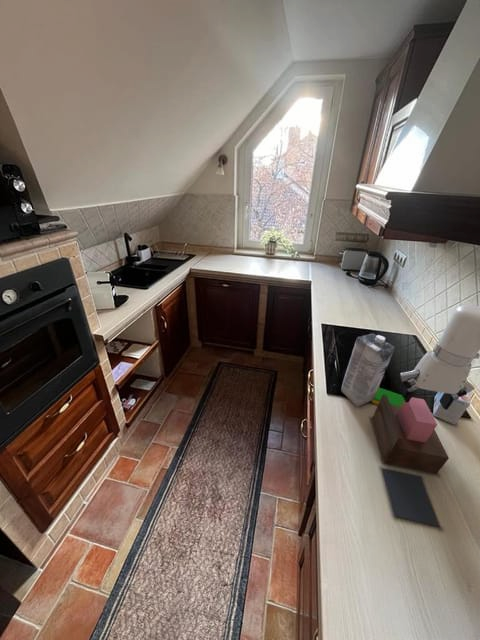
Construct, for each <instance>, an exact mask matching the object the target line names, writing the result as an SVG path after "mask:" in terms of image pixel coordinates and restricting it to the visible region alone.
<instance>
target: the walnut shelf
mask: <svg viewBox="0 0 480 640" xmlns="http://www.w3.org/2000/svg"><path fill="white" fill-rule="evenodd" d="M399 409H400V406H394V405H390V403H389V400H388V397H387V395H384V394H383V395H382V397H381V400H380V402H379V404H377V407H376V408H375V411H374V413H373V415H372V417H371V420H372V424H373V429H374V431H375V435H376V438H377V442H378V446H379V448H380V453H381V457H382V460H383V463H384V464H387V465H391V466H396V467H397V466H398V467H402V468H405V469H411V470H416V471H419V472H424V473H429V474H433V475H437V474H438V473H439V472H440V471H441V469H442V468H443V467H444V466H445V464H446V463H447V461H448V460H449V458H450V457H449V455H448V453H447V451H446V449H445V447H444V445H443V443H442V441H441V439H440V438H439V435H438V433H437V432H436V428H435V429H434V431H433V432H432V434H431V435H430V437H429V438H428V440H427V441H426V443H424V442H419V441H414V440H409V439H406V436H405V434H404V431H403V428H402V426H401V423H400V421H399V418H398V415H397V413H398V411H399Z"/></svg>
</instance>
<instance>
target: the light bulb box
mask: <svg viewBox="0 0 480 640" xmlns="http://www.w3.org/2000/svg"><path fill="white" fill-rule="evenodd" d="M462 388H463V387H462ZM443 394H444V393H442V392H436V394H435V396H434V400H433V412H432V415H433V417H436V418H438V419H440V420H443V421H445V422H447V423H450V424H451V425H457V423H458V421H459V420H460V419H461V417H462V416H463V415H464V414H465V412H466V410H467V409H468V408H469V406H470V405H471V404H472V402H471V401H472V400H471V391H470V392H469V393H467V394H466V395H464V396H461V397H459V399H457V400H454V401H453V402H452V404H451V405H450V407H449V408H448V409H447V410H446V409H444V408H443V407H442V405H441V403H440V401H439V400H440V399H441V397H442V396H443Z"/></svg>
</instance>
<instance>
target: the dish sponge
mask: <svg viewBox="0 0 480 640" xmlns="http://www.w3.org/2000/svg"><path fill="white" fill-rule="evenodd" d="M383 394H384V395H387V397H388V400H389V403H390V405H394V406H400V407H401V405H402V403H403V401H404V398H403V397H402V394H399V393H397V392H393V391H391V390H387V389H385V388H382V387H380V386H379V387H378V390H377V392H376V394H375V396H374V398H373V399H372V400H371V401H370V402H371V403H372V404H375V405H378V404H379V402H380V400H381V397H382V395H383Z"/></svg>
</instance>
